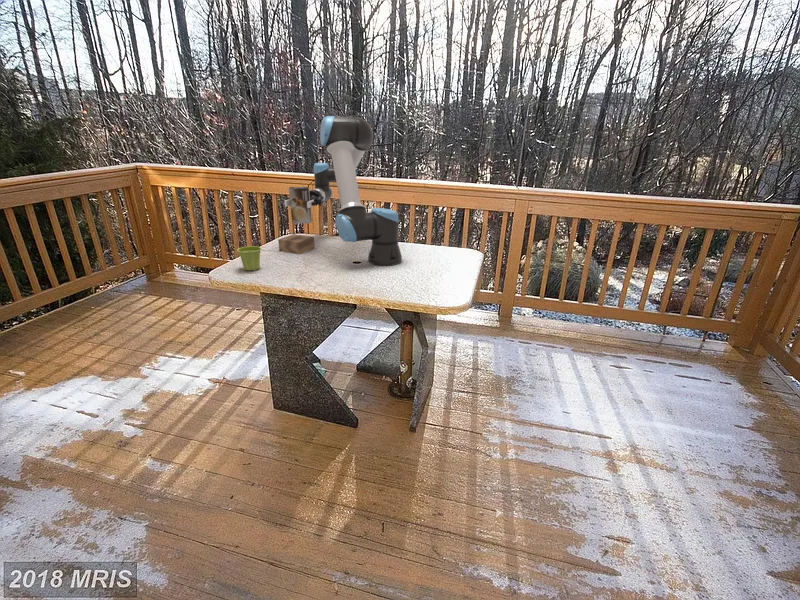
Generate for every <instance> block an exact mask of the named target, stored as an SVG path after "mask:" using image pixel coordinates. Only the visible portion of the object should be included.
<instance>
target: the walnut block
mask: <svg viewBox="0 0 800 600" xmlns="http://www.w3.org/2000/svg"><path fill="white" fill-rule="evenodd" d="M277 240H278V249H279V252H282V251H283V253H289V254H297V255H302V254H304V253H306V252H308V251H311V250H313V248H314V249H315V246H316V245H315V237H314V236H310V235H302V234H295V233H294V234H293V233H292V234H291V235H287V236H285V237H282V238H279V239H277Z"/></svg>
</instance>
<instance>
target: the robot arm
mask: <svg viewBox="0 0 800 600" xmlns="http://www.w3.org/2000/svg"><path fill="white" fill-rule="evenodd" d="M319 139H320V144H321V145H322V147H323V146H324V147H325V148H326V151H327V153H329V154H330V155H331V159H332V160H331V161H332V165H333V166H330V165H329V163H327V162H316V163H314V165H313V179H314V189H311V190H309V193H310V201H308V202H307V208H311V209H312V207H314V206H321V207H322V205H323V203H325V202H327V201H328V200H330V199H332V196H333V190H332V188H331V187H330V183H332V182H335V183H336V186H337V191H338V198H339V202H340V208H339V210H338V214H337V215H336V216H335V226H336V230H337V233H338V235H339V237H340V239H341V240H342V241H343V242H345V243H347V242H348V243H351V242H352V243H355V242H361V241H371V247H370V250H369V253H368V256H367V257H368V263H370V264H372V265H375V264H376V266H383V265H388V266H393V265H392V264H395V265H398V264H397V263H399V262H400V263H401V262H402V261H403V258H402V257H403V256H402V252H401V250H400V247H399V223H400V221H399V213H398V212H397V211H396V210H394V209H390V208H389V209H388V208H384V207H373V208H371V211H370V212H369V211H368V212H367V209H366V206H365V205H363V204H362V201H361V197H360V191H359V186H358V181H357V180H358V179H357V175H358V174H357V168H358V165H359V164H360V162H361V160H362V158H363V156H364V155H365V153H366V151H368V150H369V149H370V148H371V147H372V144H373V141H374V131H373V128H372V126H371V125H370V124H369V123H368V121H366V120H365V119H364V118H363V117H362V118H361V117H359V116H335V115H332V116H331V115H330V116H328V115H327V116H324V117H323V118H322V120H321V124H320V132H319ZM283 202H284V207H290V198H289V197H286V198H285V200H284V201H283ZM400 263H399V264H400Z"/></svg>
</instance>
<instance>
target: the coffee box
mask: <svg viewBox="0 0 800 600" xmlns="http://www.w3.org/2000/svg"><path fill="white" fill-rule="evenodd" d="M309 191H310V187H309V186H288V195H289V196H288V198H290V206H289V207H290V215H291V217H290V218H291V223H292V224H293V225H294V224H295V225H296V224H312V223H313V222H312V221H313V219H312V207H311V208H307V202H308V201H310V193H309Z"/></svg>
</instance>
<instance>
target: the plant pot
mask: <svg viewBox="0 0 800 600" xmlns="http://www.w3.org/2000/svg"><path fill="white" fill-rule="evenodd" d="M236 251H237V252H238V255H239V256H240V257H239V258H240V260H241V263H242V266H243V269H245V270H244V271H246V270H248V271H249V272H250V271H251V270H254V271H258V270H259V269H260V268H261V267H260V265H261V264H260V262H261V261H260V259H261V258H260V257H261V251H262V247H260V246H254V245H253V246H252V245H248V246H242V247H238V248H237V249H236ZM257 269H258V270H257ZM251 272H252V271H251Z"/></svg>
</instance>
